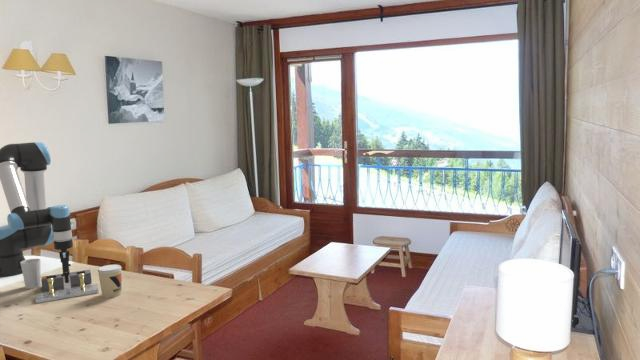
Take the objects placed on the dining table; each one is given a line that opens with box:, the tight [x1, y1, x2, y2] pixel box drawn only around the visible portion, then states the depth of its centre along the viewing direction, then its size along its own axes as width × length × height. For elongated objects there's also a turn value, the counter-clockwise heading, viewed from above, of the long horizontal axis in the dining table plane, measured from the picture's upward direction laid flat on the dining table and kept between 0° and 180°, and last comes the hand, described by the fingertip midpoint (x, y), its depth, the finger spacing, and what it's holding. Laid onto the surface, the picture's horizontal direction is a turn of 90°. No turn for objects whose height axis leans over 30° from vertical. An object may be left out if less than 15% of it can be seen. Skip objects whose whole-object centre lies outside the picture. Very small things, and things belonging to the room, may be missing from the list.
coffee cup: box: [97, 264, 123, 298], centre depth 218 cm, size 9×9×12 cm
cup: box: [20, 258, 42, 290], centre depth 232 cm, size 8×8×12 cm
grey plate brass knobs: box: [35, 273, 99, 304], centre depth 219 cm, size 24×8×8 cm, turn 117°
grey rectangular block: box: [41, 269, 92, 292], centre depth 232 cm, size 20×6×6 cm, turn 117°
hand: (67, 285), depth 232 cm, fingers open, 13 cm apart
